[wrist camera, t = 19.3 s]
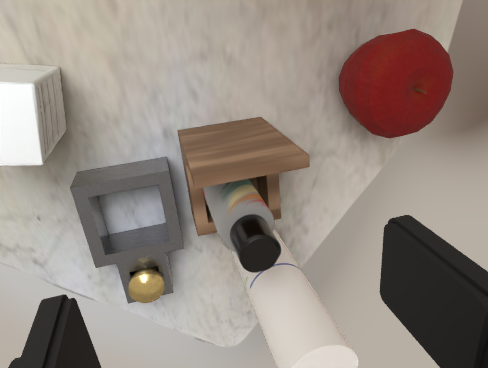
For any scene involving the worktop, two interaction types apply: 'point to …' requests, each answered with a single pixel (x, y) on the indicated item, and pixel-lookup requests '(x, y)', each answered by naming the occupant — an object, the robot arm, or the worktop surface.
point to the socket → (133, 241)
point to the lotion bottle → (244, 223)
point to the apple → (396, 82)
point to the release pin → (146, 285)
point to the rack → (236, 162)
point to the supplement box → (30, 113)
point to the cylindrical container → (295, 317)
